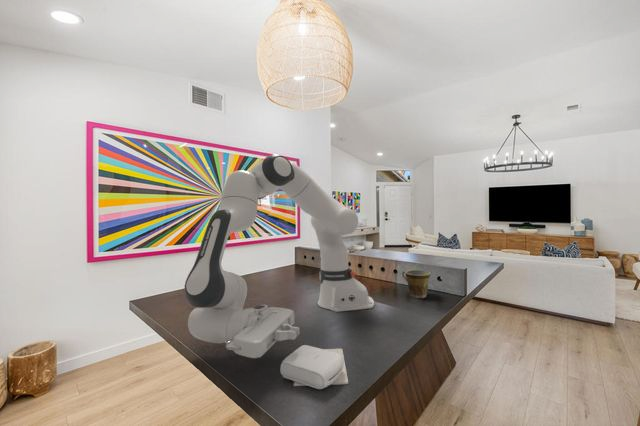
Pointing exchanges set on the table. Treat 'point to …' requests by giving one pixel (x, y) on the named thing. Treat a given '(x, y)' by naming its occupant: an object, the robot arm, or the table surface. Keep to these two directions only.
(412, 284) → the ceramic cup
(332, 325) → the table surface
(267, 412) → the table surface
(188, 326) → the robot arm
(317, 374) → the photo printer
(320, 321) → the table surface
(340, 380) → the mat
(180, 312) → the table surface
